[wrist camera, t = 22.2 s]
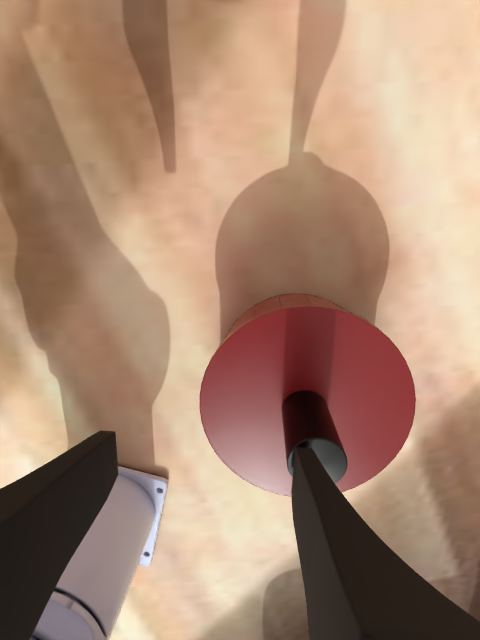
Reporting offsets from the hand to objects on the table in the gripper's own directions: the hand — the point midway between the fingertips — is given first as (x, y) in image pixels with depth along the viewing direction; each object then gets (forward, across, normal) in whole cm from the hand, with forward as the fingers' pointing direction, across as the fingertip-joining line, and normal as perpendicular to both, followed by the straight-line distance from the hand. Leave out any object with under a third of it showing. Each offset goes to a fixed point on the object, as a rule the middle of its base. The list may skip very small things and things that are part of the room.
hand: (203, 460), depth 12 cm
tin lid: (+5, -4, 0) cm, 7 cm away
